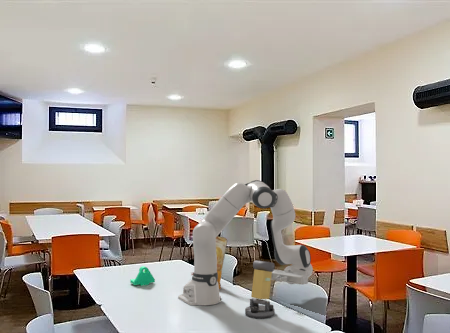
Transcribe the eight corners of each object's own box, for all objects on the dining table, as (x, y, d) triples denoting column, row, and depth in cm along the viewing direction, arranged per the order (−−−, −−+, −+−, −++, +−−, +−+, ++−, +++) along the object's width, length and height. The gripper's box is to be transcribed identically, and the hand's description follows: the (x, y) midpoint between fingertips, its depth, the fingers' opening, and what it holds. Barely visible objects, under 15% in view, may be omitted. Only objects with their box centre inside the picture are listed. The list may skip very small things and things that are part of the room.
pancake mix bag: (209, 282, 247) (209, 233, 248) (228, 289, 232) (228, 237, 232) (199, 283, 244) (200, 234, 244) (218, 290, 228) (218, 238, 229)
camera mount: (149, 281, 250) (149, 263, 250) (154, 284, 243) (154, 265, 243) (129, 284, 243) (129, 266, 243) (134, 287, 237) (134, 268, 237)
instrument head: (246, 302, 189) (251, 259, 192) (255, 302, 194) (259, 260, 198) (264, 305, 183) (268, 262, 187) (272, 305, 189) (276, 263, 192)
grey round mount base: (239, 314, 188) (239, 301, 188) (255, 307, 198) (255, 294, 198) (264, 320, 180) (264, 306, 180) (280, 313, 190) (280, 299, 190)
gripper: (274, 265, 219) (259, 270, 208) (310, 270, 207) (297, 276, 196) (274, 278, 219) (259, 283, 208) (310, 284, 206) (297, 290, 195)
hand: (278, 279), depth 202 cm, fingers closed
